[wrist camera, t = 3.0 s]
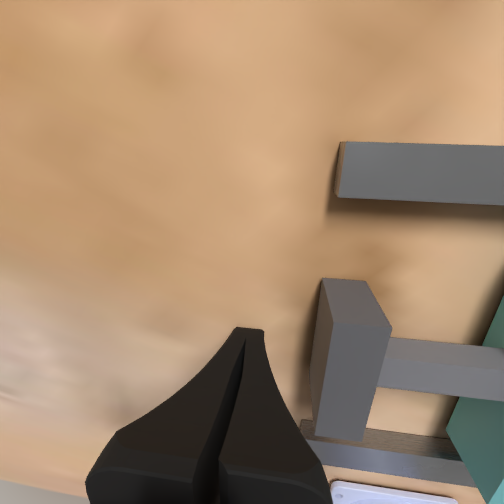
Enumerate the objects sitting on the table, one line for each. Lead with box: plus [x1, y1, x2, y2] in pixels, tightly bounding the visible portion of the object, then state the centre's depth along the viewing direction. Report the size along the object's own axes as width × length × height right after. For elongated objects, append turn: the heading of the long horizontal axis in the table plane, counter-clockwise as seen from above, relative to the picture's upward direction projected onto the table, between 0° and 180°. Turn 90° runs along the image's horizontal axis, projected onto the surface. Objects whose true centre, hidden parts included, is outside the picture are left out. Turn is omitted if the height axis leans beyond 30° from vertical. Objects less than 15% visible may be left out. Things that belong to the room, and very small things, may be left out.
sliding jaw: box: [309, 278, 504, 504], centre depth 12 cm, size 12×10×4 cm
